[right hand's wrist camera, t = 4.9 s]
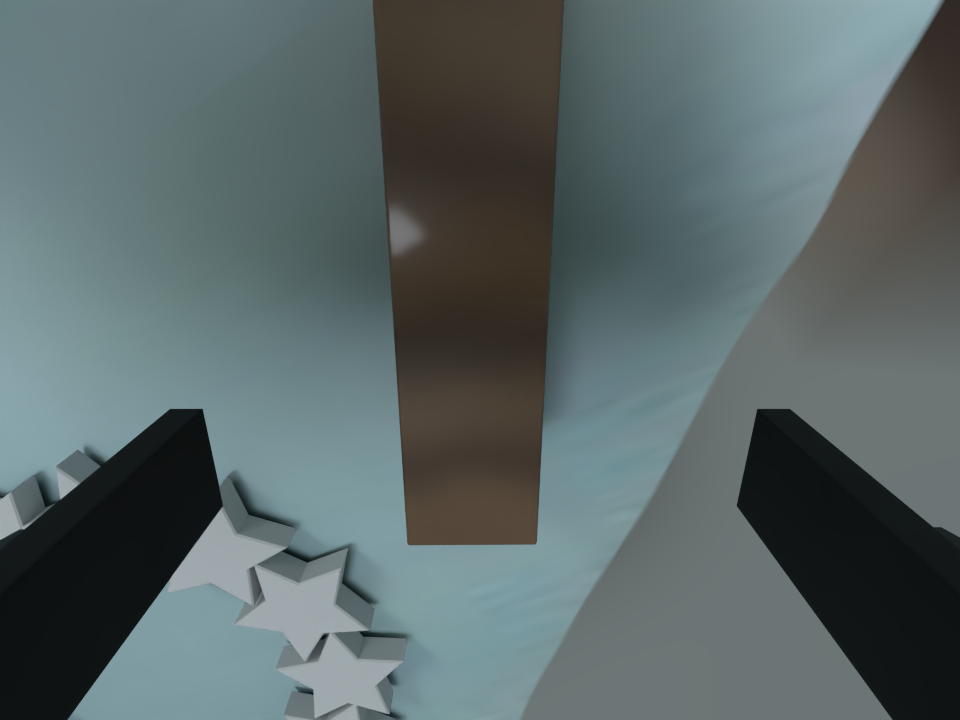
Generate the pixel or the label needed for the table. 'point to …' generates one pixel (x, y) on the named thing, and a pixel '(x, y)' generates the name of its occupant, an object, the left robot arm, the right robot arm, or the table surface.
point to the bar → (470, 254)
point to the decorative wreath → (270, 600)
